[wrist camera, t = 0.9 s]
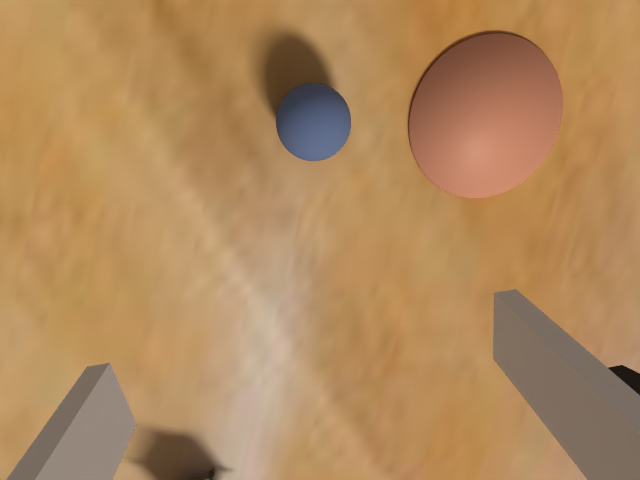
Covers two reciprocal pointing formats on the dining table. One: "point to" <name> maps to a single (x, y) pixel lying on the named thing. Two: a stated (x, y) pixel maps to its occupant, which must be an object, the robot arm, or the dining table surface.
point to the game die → (210, 475)
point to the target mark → (485, 115)
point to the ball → (313, 122)
